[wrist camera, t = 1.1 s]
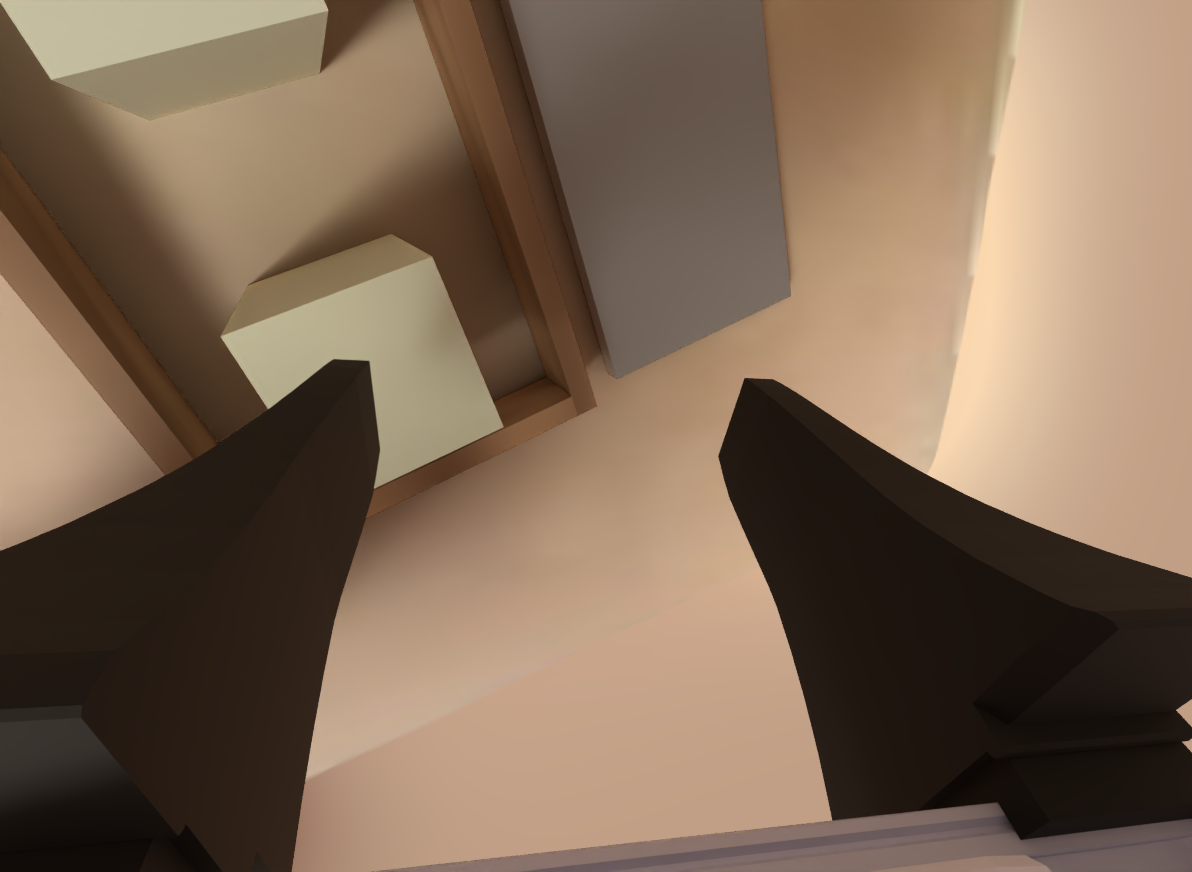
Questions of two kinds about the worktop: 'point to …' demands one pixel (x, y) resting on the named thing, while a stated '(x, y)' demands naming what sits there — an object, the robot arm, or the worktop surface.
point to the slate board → (658, 162)
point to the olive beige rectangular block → (370, 346)
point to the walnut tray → (156, 407)
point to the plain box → (172, 47)
